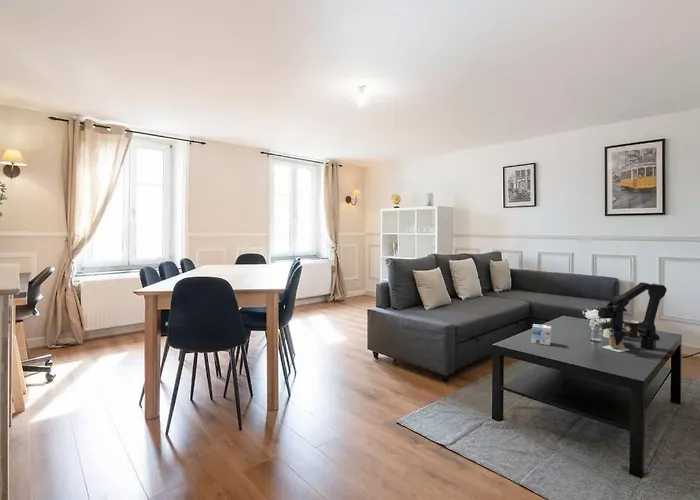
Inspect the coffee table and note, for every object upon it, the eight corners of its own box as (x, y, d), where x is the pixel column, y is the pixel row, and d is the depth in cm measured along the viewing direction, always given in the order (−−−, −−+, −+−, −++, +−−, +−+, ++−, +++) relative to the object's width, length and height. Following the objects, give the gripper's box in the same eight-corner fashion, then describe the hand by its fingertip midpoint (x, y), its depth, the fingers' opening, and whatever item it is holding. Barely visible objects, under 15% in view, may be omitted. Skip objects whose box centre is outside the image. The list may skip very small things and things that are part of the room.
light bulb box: (531, 342, 241) (532, 326, 241) (532, 340, 247) (532, 323, 247) (550, 345, 236) (551, 328, 236) (550, 342, 242) (551, 325, 242)
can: (619, 339, 249) (620, 321, 248) (602, 337, 254) (603, 319, 253) (619, 336, 256) (620, 319, 255) (603, 334, 262) (604, 316, 261)
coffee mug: (642, 338, 253) (643, 323, 252) (628, 337, 253) (629, 323, 252) (629, 333, 265) (630, 318, 264) (617, 332, 265) (617, 318, 264)
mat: (629, 350, 229) (629, 349, 228) (619, 352, 224) (619, 351, 224) (612, 345, 238) (612, 344, 238) (602, 347, 233) (602, 346, 233)
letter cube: (608, 343, 235) (609, 333, 234) (620, 345, 232) (621, 335, 232) (610, 346, 229) (611, 336, 229) (622, 347, 227) (623, 337, 226)
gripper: (598, 313, 241) (597, 337, 243) (604, 320, 224) (602, 346, 226) (619, 315, 237) (618, 340, 238) (627, 322, 220) (625, 349, 221)
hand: (615, 343), depth 231 cm, fingers closed on letter cube, 6 cm apart
